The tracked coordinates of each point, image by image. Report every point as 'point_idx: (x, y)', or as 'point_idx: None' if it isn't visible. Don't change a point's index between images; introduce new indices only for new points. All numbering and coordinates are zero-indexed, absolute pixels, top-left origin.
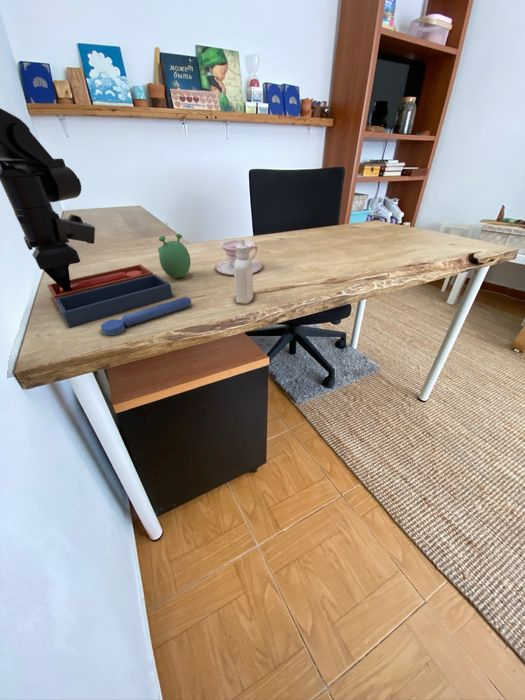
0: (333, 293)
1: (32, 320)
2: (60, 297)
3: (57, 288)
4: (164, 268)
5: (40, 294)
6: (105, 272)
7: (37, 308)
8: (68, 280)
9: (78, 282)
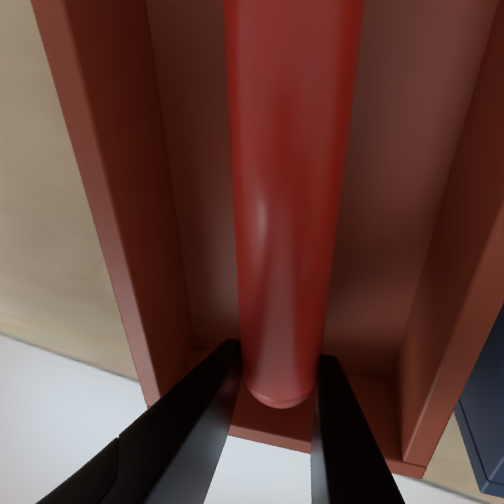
0: None
1: None
2: (497, 474)
3: (175, 362)
4: None
5: (111, 363)
6: None
7: None
8: (376, 458)
9: (282, 309)
